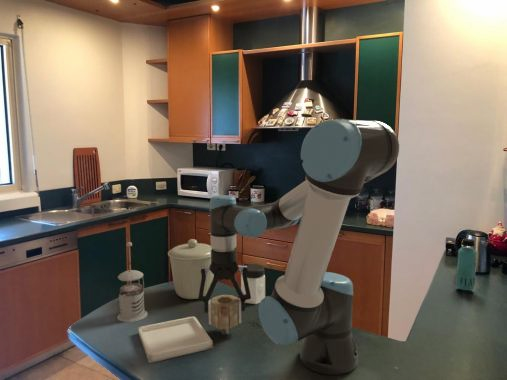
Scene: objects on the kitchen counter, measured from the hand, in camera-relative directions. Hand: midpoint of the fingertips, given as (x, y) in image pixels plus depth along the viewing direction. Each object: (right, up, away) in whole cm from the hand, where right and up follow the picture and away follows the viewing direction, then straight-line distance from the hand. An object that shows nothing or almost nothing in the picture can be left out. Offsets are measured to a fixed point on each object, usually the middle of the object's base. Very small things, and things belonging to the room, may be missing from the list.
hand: (225, 321), depth 122 cm
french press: (-31, -2, +14) cm, 34 cm away
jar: (+8, 0, +25) cm, 27 cm away
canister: (-14, 0, +30) cm, 33 cm away
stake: (0, -4, +1) cm, 4 cm away
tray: (-15, -4, -4) cm, 16 cm away
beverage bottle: (+89, +1, +32) cm, 94 cm away
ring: (0, 0, 0) cm, 0 cm away
